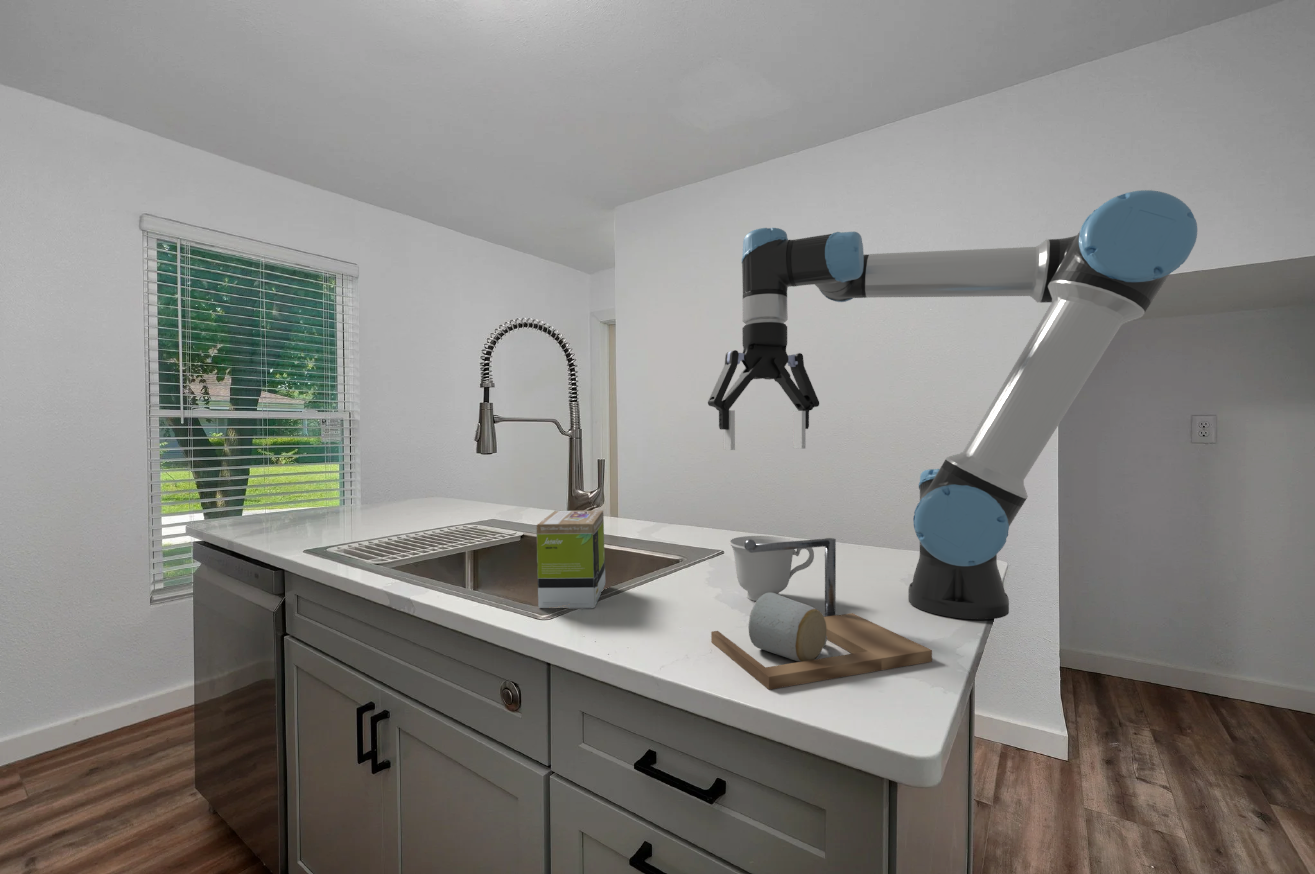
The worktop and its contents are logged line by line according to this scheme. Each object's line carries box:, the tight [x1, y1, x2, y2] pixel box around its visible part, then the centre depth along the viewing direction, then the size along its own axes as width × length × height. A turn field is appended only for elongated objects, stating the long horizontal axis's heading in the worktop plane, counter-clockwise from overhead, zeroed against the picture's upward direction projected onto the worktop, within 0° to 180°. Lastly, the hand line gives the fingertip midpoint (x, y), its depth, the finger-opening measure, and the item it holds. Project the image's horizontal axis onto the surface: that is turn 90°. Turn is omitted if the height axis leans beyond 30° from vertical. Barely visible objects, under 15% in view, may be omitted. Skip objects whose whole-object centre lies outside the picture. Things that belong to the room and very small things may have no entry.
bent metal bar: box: [744, 537, 837, 617], centre depth 89 cm, size 17×4×14 cm, turn 109°
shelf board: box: [710, 612, 933, 691], centre depth 79 cm, size 24×16×2 cm, turn 109°
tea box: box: [536, 510, 606, 610], centre depth 106 cm, size 15×10×15 cm, turn 178°
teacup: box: [728, 535, 815, 602], centre depth 104 cm, size 12×15×10 cm
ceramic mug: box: [748, 593, 828, 662], centre depth 79 cm, size 11×8×8 cm
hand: (764, 449), depth 100 cm, fingers open, 13 cm apart
